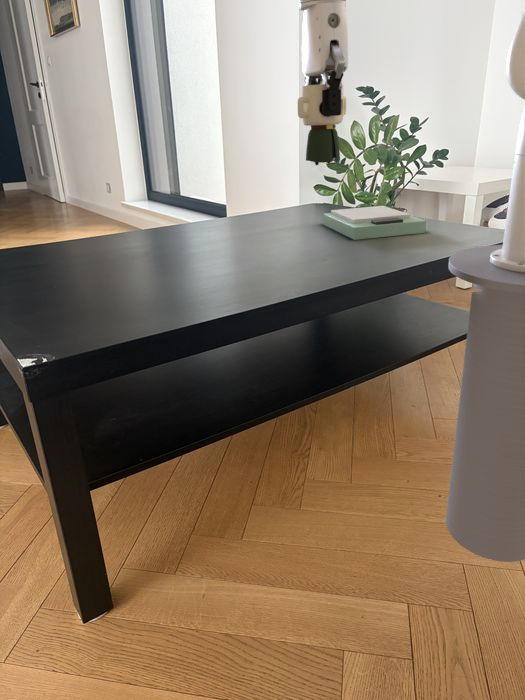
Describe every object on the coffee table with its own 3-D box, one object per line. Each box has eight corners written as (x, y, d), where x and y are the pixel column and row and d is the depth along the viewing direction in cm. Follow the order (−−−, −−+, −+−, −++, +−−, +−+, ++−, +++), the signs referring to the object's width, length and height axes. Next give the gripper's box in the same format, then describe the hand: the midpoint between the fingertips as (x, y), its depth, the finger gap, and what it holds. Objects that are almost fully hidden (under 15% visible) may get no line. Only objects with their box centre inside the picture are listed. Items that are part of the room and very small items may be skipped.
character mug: (312, 168, 94) (311, 84, 89) (287, 166, 99) (284, 87, 94) (358, 162, 100) (360, 83, 94) (331, 161, 105) (332, 85, 100)
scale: (425, 232, 115) (426, 216, 113) (354, 240, 111) (354, 223, 110) (386, 218, 131) (387, 204, 129) (323, 224, 127) (323, 210, 126)
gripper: (367, -14, 82) (364, 114, 89) (324, 7, 98) (324, 115, 105) (320, -15, 81) (321, 116, 88) (284, 7, 96) (287, 117, 103)
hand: (322, 115), depth 96 cm, fingers closed on character mug, 7 cm apart
